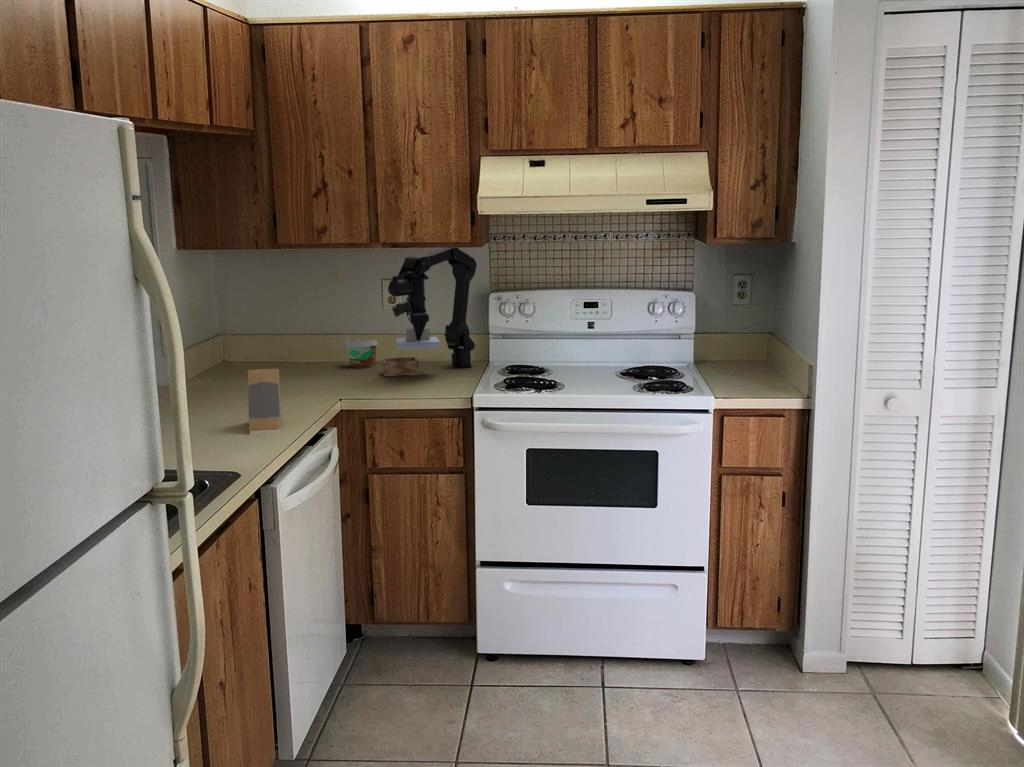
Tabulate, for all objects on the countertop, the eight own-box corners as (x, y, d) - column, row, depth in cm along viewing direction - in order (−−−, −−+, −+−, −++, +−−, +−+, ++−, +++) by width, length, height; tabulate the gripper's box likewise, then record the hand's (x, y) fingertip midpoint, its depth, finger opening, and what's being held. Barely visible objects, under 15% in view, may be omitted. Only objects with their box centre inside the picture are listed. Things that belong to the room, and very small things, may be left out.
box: (416, 370, 330) (415, 356, 329) (419, 374, 322) (418, 360, 321) (382, 372, 328) (381, 358, 327) (384, 377, 319) (384, 362, 318)
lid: (436, 342, 324) (435, 325, 323) (440, 347, 313) (439, 329, 312) (396, 344, 321) (395, 327, 320) (398, 349, 311) (398, 331, 309)
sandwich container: (247, 435, 246) (243, 380, 243) (250, 422, 260) (246, 369, 257) (281, 433, 248) (277, 378, 245) (282, 420, 262) (278, 367, 259)
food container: (340, 367, 337) (339, 340, 335) (348, 364, 343) (346, 338, 341) (371, 369, 334) (370, 341, 331) (378, 366, 339) (377, 339, 337)
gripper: (390, 291, 321) (392, 336, 324) (394, 297, 303) (396, 344, 306) (422, 290, 323) (424, 334, 326) (428, 296, 305) (430, 343, 308)
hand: (418, 339), depth 317 cm, fingers closed on lid, 2 cm apart
